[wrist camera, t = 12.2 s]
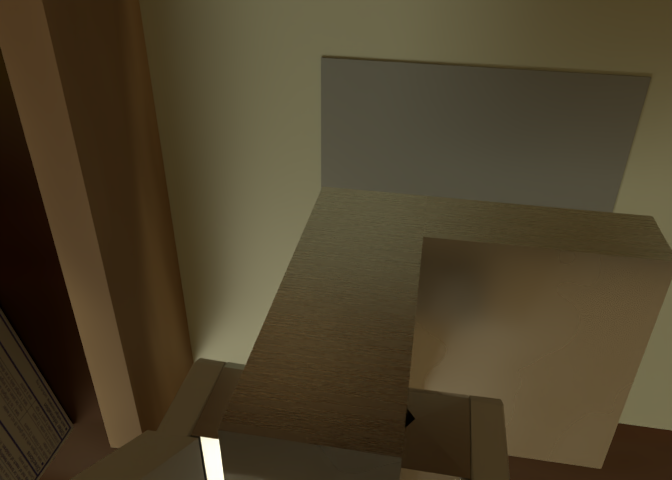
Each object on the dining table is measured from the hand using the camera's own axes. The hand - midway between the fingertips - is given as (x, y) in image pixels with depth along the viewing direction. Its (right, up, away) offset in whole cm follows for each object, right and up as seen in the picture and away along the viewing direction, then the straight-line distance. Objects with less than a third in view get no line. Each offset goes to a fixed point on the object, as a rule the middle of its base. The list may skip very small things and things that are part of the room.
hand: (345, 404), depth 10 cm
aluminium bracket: (+3, +1, +2) cm, 4 cm away
